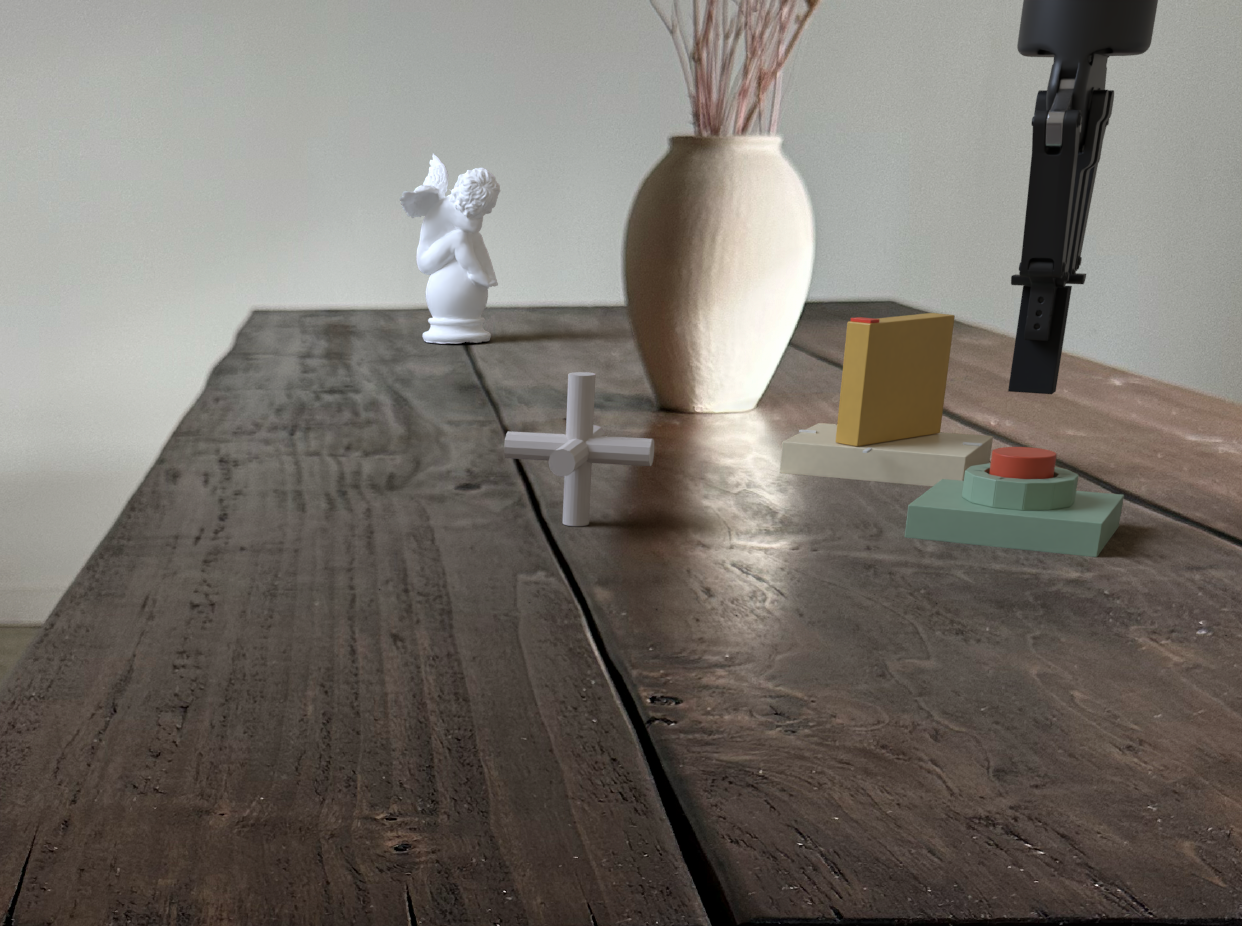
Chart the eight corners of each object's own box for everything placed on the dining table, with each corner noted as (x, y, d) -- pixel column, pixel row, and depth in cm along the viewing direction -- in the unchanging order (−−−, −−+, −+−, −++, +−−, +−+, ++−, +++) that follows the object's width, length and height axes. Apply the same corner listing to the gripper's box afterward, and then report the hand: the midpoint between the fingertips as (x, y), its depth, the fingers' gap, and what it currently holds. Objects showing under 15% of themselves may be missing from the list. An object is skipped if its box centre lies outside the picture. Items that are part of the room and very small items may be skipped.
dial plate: (995, 463, 136) (1000, 430, 135) (957, 495, 124) (962, 458, 123) (820, 449, 142) (824, 417, 141) (769, 478, 131) (772, 443, 130)
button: (1057, 476, 112) (1061, 449, 112) (1047, 486, 109) (1051, 459, 108) (995, 471, 114) (998, 444, 113) (983, 481, 111) (986, 454, 110)
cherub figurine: (508, 343, 212) (513, 153, 203) (424, 349, 206) (425, 155, 197) (456, 334, 222) (458, 152, 213) (375, 340, 216) (373, 154, 207)
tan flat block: (917, 429, 136) (932, 309, 132) (940, 433, 134) (955, 311, 130) (834, 442, 130) (847, 317, 127) (857, 446, 129) (870, 320, 125)
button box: (1118, 527, 114) (1128, 467, 113) (1096, 557, 106) (1107, 494, 105) (938, 509, 120) (945, 452, 118) (904, 537, 112) (911, 477, 110)
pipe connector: (633, 544, 111) (641, 387, 107) (486, 533, 114) (489, 380, 110) (660, 513, 119) (669, 367, 115) (523, 504, 122) (527, 362, 118)
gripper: (1045, -9, 107) (991, 375, 116) (1005, -23, 96) (950, 400, 106) (1173, -14, 103) (1107, 382, 113) (1146, -28, 93) (1077, 409, 103)
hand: (1031, 391), depth 109 cm, fingers closed
